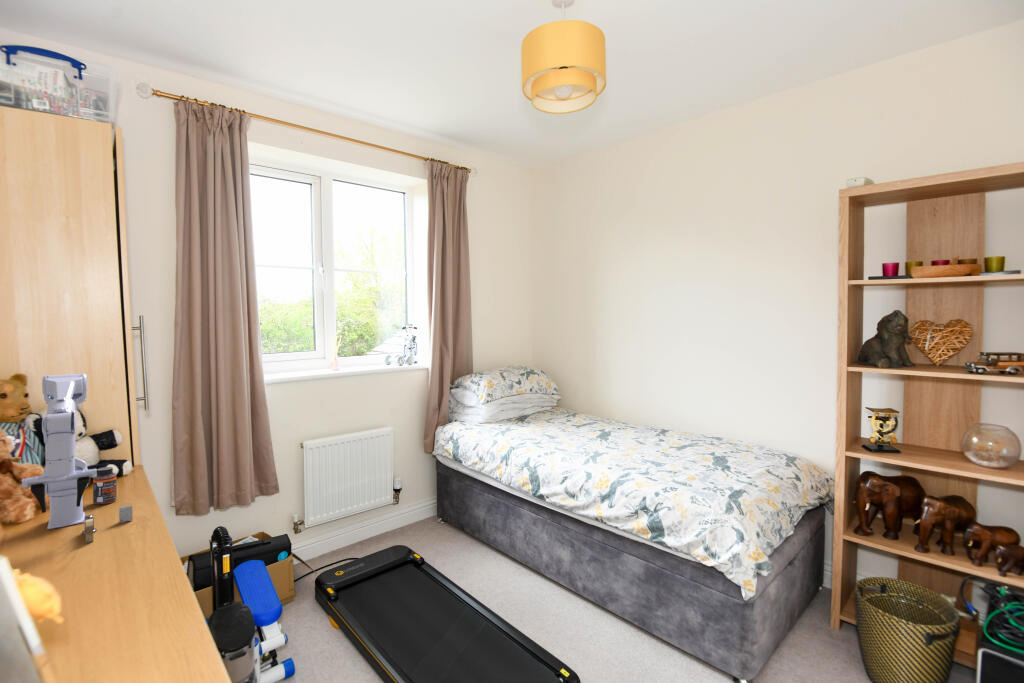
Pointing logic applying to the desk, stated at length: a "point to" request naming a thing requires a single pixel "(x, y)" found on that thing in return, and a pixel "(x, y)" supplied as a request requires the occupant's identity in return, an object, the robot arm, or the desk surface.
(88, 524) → the light wooden bar
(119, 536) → the desk surface
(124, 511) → the white-faced wooden block
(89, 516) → the pivot post
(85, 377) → the robot arm
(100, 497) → the supplement bottle
